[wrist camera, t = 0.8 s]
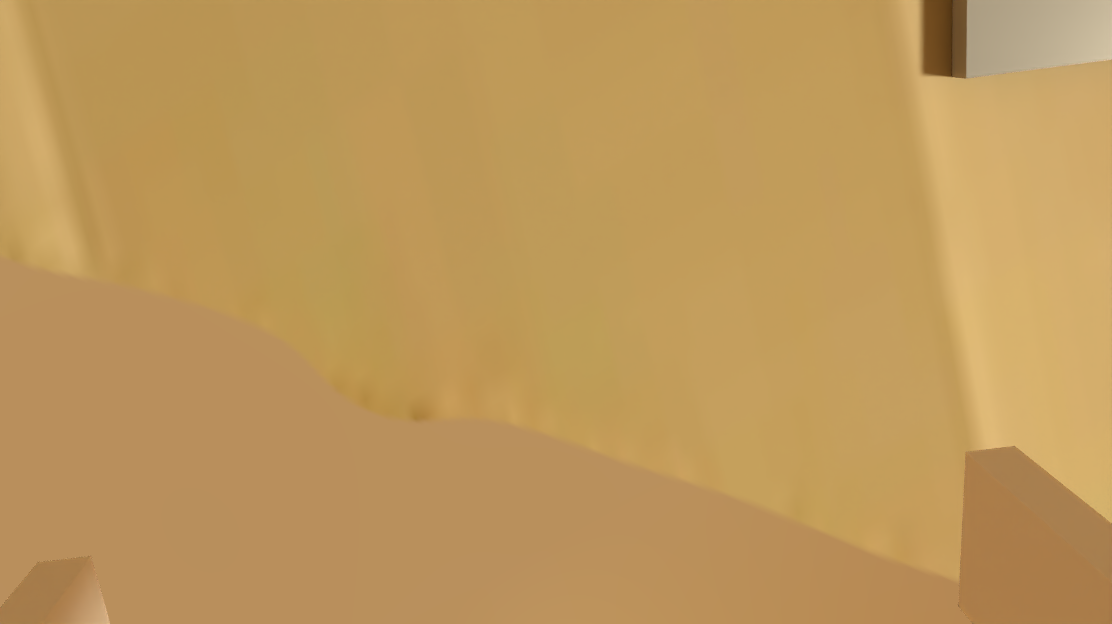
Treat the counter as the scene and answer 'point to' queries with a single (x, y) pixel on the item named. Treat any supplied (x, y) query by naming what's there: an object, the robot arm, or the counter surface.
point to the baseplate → (1028, 35)
